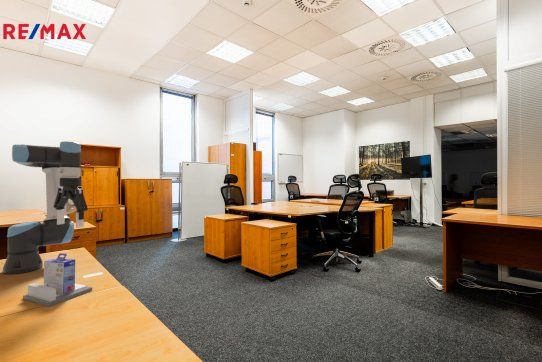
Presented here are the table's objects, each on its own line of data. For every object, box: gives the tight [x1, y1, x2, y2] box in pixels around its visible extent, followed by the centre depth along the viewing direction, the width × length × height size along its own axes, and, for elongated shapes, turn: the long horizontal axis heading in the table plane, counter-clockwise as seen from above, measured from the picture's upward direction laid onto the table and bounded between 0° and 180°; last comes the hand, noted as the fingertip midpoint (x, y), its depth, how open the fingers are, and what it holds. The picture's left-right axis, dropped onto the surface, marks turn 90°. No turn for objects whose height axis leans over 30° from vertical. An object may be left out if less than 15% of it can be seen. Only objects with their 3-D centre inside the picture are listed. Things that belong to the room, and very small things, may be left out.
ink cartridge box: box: [42, 252, 76, 294], centre depth 110 cm, size 10×6×14 cm, turn 78°
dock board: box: [22, 282, 93, 307], centre depth 110 cm, size 16×16×5 cm
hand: (70, 225), depth 122 cm, fingers open, 13 cm apart
